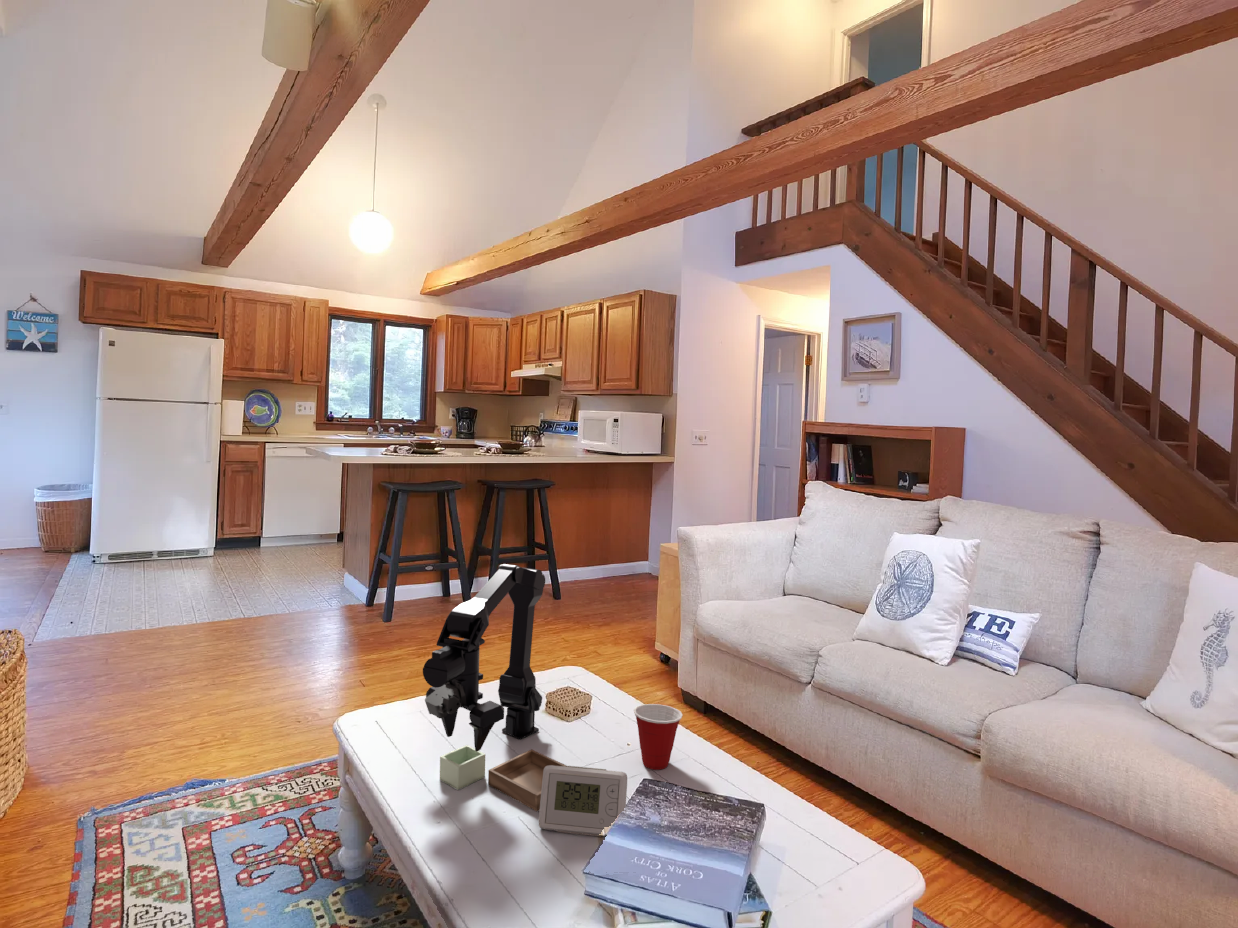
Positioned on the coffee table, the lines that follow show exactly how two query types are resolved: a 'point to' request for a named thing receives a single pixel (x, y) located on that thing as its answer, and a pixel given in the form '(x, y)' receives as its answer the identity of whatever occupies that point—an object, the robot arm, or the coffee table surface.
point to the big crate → (522, 777)
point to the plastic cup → (656, 733)
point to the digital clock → (581, 799)
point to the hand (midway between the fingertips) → (463, 743)
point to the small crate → (462, 767)
